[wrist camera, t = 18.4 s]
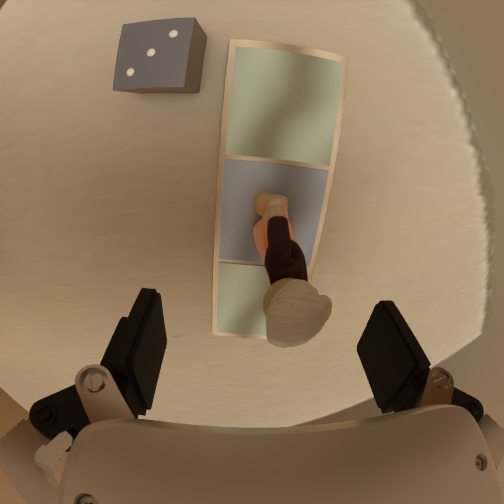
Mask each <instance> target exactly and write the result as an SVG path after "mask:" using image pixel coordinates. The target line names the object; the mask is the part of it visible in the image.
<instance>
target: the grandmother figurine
mask: <svg viewBox="0 0 504 504" xmlns="http://www.w3.org/2000/svg"><path fill="white" fill-rule="evenodd" d="M253 206H254V210H255V212H256V213H257V214H258V215H260V216H263V218H262V219H261V220H259V221H258V222H257V223H256V224H255V226H254V228H253V235H254V240H255V244H256V247H257V249H258V251H259V253H260V255H261V257H262V259H263V261H264V265H265V268H266V271H267V273H268V276H269V280H270V284H271V286H270V287H269V288H268V290H267V291H266V293H265V296H264V299H263V311H264V314H265V316H266V336H267V340H268V341H269V342H270V343H271V344H273V345H274V346H277V347H294V346H298V345H301V344H304V343H306V342H307V341H309V340H310V339H312V338H313V337H314V336H315V335H316V334H317V333H318V332H319V331H320V330H321V329H322V327H323V325H324V324H325V322H326V321H327V320H328V318H329V316H330V314H331V308H332V302H331V299H330V298H329V297H328V296H326V295H319V293H318V291H317V289H316V288H315V287H313V286H312V285H310V284H309V283H308V274H307V267H306V261H305V256H304V254H303V252H302V249H301V248H300V246H299V245H298V243H297V241H296V240H295V238H294V236H293V234H294V232H295V226H294V223H293V222H292V221H291V220H289V218H288V210H287V209H288V199H287V198H286V197H285V196H283V195H280V194H273V193H266V192H263V193H260V194H258V195H257V196H256V197H255V199H254V202H253Z"/></svg>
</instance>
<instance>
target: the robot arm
mask: <svg viewBox="0 0 504 504" xmlns="http://www.w3.org/2000/svg"><path fill="white" fill-rule="evenodd" d="M166 345H167V337H166V330H165V324H164V317H163V309H162V301H161V294H160V293H157V292H156V289H149V288H142V289H141V291H140V293H139V295H138V297H137V299H136V301H135V303H134V305H133V307H132V309H131V312H130V314H129V316H128V317H122V318H121V319H120V321H119V323H118V325H117V327H116V329H115V332H114V334H113V336H112V338H111V340H110V343H109V345H108V347H107V349H106V352H105V354H104V356H103V358H102V361H101V363H100V365H97V364H92V365H87V366H85V367H83V368H82V369H81V370H80V371H79V372H78V373H77V375H76V378H75V384H74V385H72V386H70V387H68V388H66V389H63V390H61V391H59V392H57V393H54V394H52V395H50V396H47V397H45V398H43V399H40V400H38V401H37V402H35V403H34V404H33V405H32V407H31V409H30V414H29V418H28V419H27V420H25V419H22V420H21V421H20V422H19V423H18V424H17V425H15V426H14V427H13V428H12V429H11V430H10V431H9V432H7V433H6V434H5V435H4V436H3V437H2V438H1V439H0V465H1V466H2V468H3V470H4V471H5V473H6V474H7V475H8V477H9V479H10V480H11V482H12V483H13V485H14V486H15V487H16V489H17V490H18V491H19V493H20V494H21V495H22V497H23V498H24V499H25V501H26V502H27V503H28V504H504V501H503V496H502V491H501V487H500V483H499V479H498V475H497V472H496V470H497V468H498V466H499V464H500V462H501V460H502V457H503V455H504V429H503V428H501V427H500V426H499V425H498V424H497V423H496V422H495V421H494V420H493V419H492V418H491V417H490V416H489V415H487V414H485V415H483V413H484V410H483V406H482V404H481V403H480V402H479V400H477V399H476V398H474V397H472V396H470V395H468V394H466V393H464V392H462V391H460V390H459V389H457V388H455V387H454V380H453V377H452V376H451V374H450V373H449V372H448V371H447V370H445V369H444V368H441V367H435V368H432V369H431V370H430V368H429V366H430V365H431V363H430V362H429V360H428V358H427V356H426V355H425V353H424V351H423V349H422V348H421V346H420V344H419V343H418V341H417V339H416V337H415V336H414V334H413V332H412V331H411V329H410V328H409V326H408V324H407V323H406V321H405V319H404V318H403V316H402V315H401V313H400V312H399V310H398V308H397V307H396V305H395V304H394V302H393V301H380V302H379V303H378V304H376V305H375V307H374V310H373V312H372V314H371V316H370V319H369V321H368V323H367V325H366V328H365V330H364V332H363V334H362V336H361V338H360V340H359V342H358V345H357V352H358V355H359V358H360V360H361V363H362V365H363V368H364V371H365V373H366V376H367V379H368V381H369V384H370V387H371V389H372V392H373V395H374V398H375V401H376V403H377V406H378V408H381V411H382V414H385V413H389V412H392V411H393V410H394V413H392V414H387V415H382V416H377V417H372V418H366V419H360V420H355V421H347V422H340V423H332V424H324V425H312V426H299V427H278V428H236V427H216V426H202V425H191V424H181V423H172V422H164V421H155V420H146V419H138V415H144V416H145V415H146V410H147V409H148V410H150V409H151V407H152V403H153V398H154V394H155V389H156V385H157V381H158V377H159V373H160V369H161V365H162V361H163V357H164V353H165V349H166ZM64 452H69V453H68V456H67V459H66V462H65V465H64V469H63V472H62V476H61V480H60V484H59V483H58V481H57V480H56V478H55V477H54V473H53V468H54V465H55V464H56V462H57V461H59V460H60V457H59V456H60V455H62V454H63V453H64ZM92 496H93V497H92Z"/></svg>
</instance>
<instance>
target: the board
mask: <svg viewBox="0 0 504 504" xmlns="http://www.w3.org/2000/svg"><path fill="white" fill-rule="evenodd" d="M348 63H349V57H347V56H344V55H340V54H336V53H331V52H327V51H322V50H318V49H313V48H307V47H302V46H296V45H290V44H283V43H275V42H266V41H255V40H241V39H230V45H229V53H228V62H227V71H226V80H225V90H224V100H223V111H222V122H221V134H220V147H219V161H218V177H217V193H216V212H215V235H214V263H213V312H212V335H220V336H232V337H244V338H259V339H267V336H266V316H265V314H264V311H263V299H264V296H265V293H266V291H267V290H268V288H269V287H270V286H271V284H270V280H269V276H268V273H267V271H266V268H265V265H264V261H263V259H262V257H261V255H260V253H259V251H258V249H257V247H256V244H255V240H254V235H253V228H254V226H255V224H256V223H257V222H258V221H259V220H261V219H262V218H263V216H260V215H258V214H257V213H256V212H255V210H254V206H253V202H254V199H255V197H256V196H257V195H258V194H260V193H263V192H266V193H273V194H280V195H283V196H285V197H286V198H287V199H288V209H287V210H288V218H289V220H291V221H292V222H293V223H294V226H295V232H294V234H293V236H294V238H295V240H296V241H297V243H298V245H299V246H300V248H301V249H302V252H303V254H304V256H305V261H306V267H307V274H308V283H309V284H310V281H311V277H312V273H313V269H314V265H315V260H316V256H317V252H318V247H319V243H320V238H321V234H322V229H323V225H324V220H325V215H326V210H327V205H328V200H329V195H330V190H331V184H332V179H333V173H334V168H335V162H336V156H337V150H338V143H339V137H340V130H341V123H342V116H343V108H344V100H345V92H346V83H347V74H348Z"/></svg>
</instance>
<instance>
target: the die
mask: <svg viewBox="0 0 504 504" xmlns="http://www.w3.org/2000/svg"><path fill="white" fill-rule="evenodd" d="M206 40H207V36H206V34H205V33H204V31H203V30H202V28H201V26H200V25H199V23H198V22H197V20H196V19H195V18H174V19H162V20H152V21H144V22H137V23H130V24H124V25H123V26H122V31H121V36H120V41H119V47H118V53H117V60H116V67H115V74H114V83H113V91H123V92H132V93H199V89H200V81H201V74H202V67H203V60H204V53H205V47H206Z"/></svg>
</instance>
